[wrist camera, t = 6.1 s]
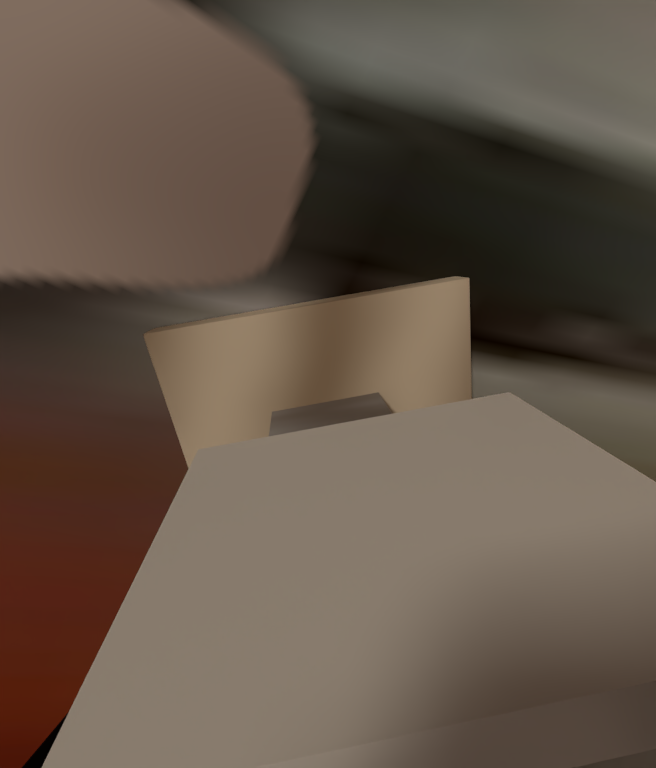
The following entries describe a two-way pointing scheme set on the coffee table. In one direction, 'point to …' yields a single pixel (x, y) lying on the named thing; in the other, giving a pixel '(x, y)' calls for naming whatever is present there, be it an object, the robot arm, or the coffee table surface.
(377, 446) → the square tube segment
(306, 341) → the square peg base
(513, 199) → the coffee table surface
